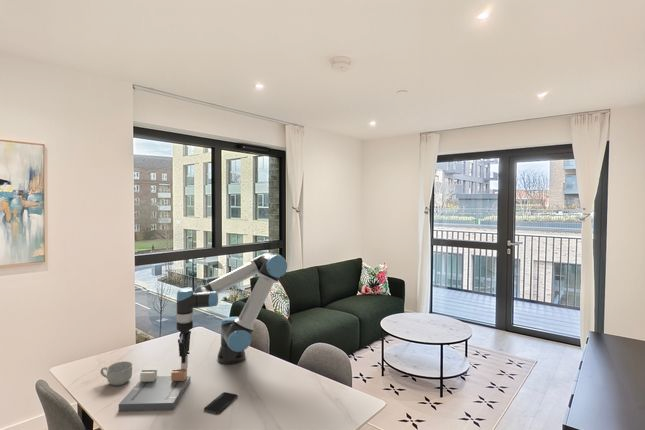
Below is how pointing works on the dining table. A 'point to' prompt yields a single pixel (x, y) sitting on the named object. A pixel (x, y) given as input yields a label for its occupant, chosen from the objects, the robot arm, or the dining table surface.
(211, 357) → the dining table surface
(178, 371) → the fader terracotta
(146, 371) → the block
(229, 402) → the phone
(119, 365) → the teacup
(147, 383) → the console
